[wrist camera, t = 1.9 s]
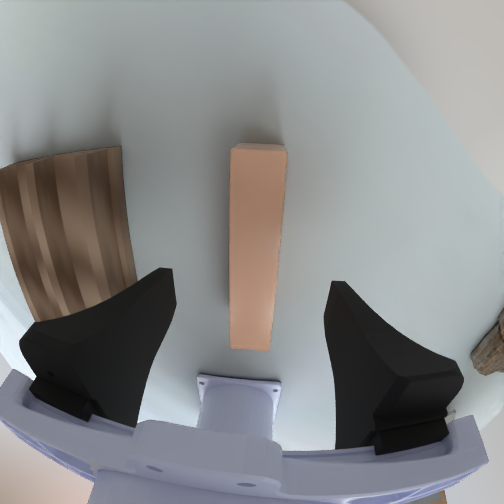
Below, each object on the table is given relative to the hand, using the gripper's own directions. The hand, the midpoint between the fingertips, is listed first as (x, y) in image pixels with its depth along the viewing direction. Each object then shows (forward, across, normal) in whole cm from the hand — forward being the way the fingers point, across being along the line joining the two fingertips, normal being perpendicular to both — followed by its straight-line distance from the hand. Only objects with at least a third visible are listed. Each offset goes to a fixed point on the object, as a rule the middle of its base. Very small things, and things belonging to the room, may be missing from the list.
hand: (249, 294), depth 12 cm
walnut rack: (+6, +15, +3) cm, 16 cm away
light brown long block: (+6, 0, 0) cm, 6 cm away
